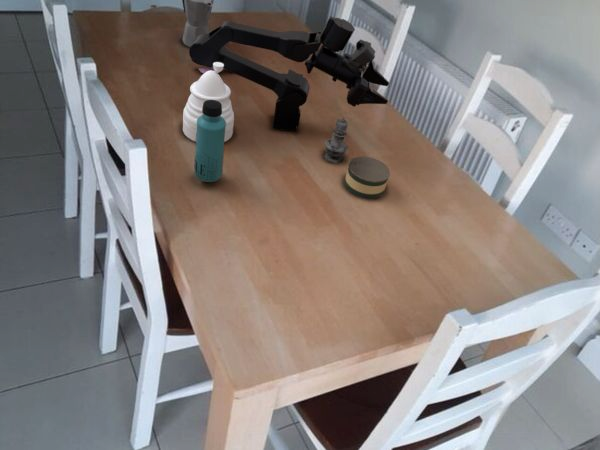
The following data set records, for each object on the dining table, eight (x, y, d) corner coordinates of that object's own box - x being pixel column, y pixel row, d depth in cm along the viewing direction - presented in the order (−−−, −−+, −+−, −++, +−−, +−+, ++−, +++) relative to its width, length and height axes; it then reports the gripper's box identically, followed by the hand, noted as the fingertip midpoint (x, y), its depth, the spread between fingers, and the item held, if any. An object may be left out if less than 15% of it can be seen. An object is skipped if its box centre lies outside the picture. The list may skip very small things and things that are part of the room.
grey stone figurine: (343, 165, 143) (353, 125, 135) (320, 160, 143) (330, 119, 136) (346, 154, 148) (356, 114, 140) (324, 148, 148) (333, 108, 140)
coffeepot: (220, 48, 183) (224, -7, 172) (196, 53, 178) (199, -4, 166) (192, 30, 191) (194, -25, 179) (168, 34, 185) (169, -22, 173)
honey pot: (211, 112, 152) (216, 50, 141) (242, 135, 146) (249, 71, 135) (172, 125, 144) (173, 60, 133) (203, 149, 138) (207, 83, 127)
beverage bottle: (226, 176, 132) (233, 101, 119) (214, 191, 127) (220, 114, 114) (201, 167, 133) (206, 92, 120) (188, 182, 128) (191, 104, 115)
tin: (345, 196, 134) (350, 178, 130) (342, 171, 141) (347, 154, 138) (387, 200, 135) (393, 183, 132) (381, 176, 143) (387, 159, 139)
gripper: (347, 55, 129) (404, 86, 132) (353, 22, 143) (405, 51, 146) (324, 92, 136) (379, 121, 139) (333, 58, 150) (383, 85, 153)
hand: (387, 93), depth 144 cm, fingers open, 9 cm apart
